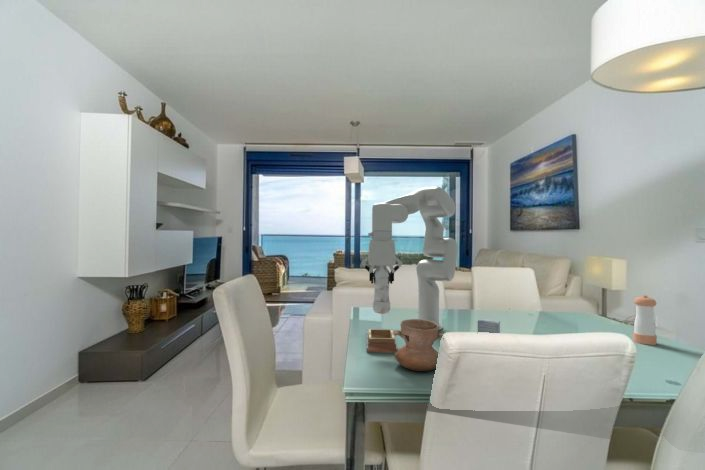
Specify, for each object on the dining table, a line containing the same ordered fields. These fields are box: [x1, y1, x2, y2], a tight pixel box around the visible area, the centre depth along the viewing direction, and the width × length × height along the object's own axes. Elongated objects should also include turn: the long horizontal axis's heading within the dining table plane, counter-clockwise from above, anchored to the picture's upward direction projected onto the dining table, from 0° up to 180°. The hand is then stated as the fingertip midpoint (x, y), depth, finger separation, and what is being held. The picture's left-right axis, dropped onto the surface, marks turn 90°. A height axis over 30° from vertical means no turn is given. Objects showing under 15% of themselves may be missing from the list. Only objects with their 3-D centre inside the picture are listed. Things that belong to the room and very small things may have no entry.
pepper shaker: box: [632, 294, 658, 346], centre depth 139 cm, size 7×7×19 cm
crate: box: [368, 328, 396, 344], centre depth 129 cm, size 13×9×4 cm
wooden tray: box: [365, 329, 399, 354], centre depth 134 cm, size 24×11×4 cm, turn 178°
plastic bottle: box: [372, 266, 391, 315], centre depth 129 cm, size 6×7×20 cm
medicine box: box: [477, 318, 501, 334], centre depth 138 cm, size 8×4×9 cm, turn 58°
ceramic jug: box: [392, 318, 444, 372], centre depth 111 cm, size 18×14×14 cm
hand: (381, 282), depth 129 cm, fingers closed on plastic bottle, 6 cm apart
